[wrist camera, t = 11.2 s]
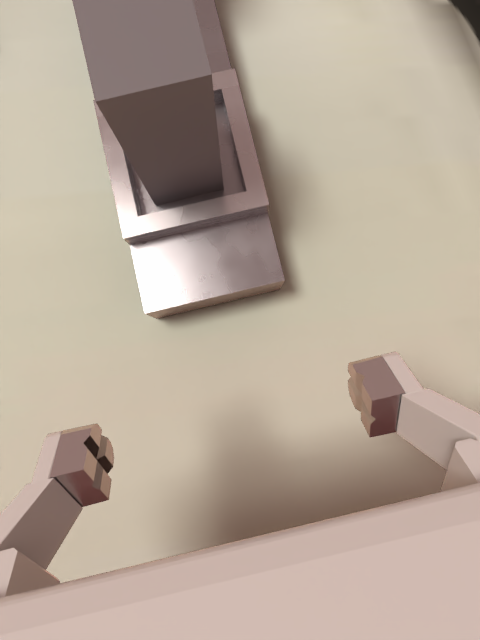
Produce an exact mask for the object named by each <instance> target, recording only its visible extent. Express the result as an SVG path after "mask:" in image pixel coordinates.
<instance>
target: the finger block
mask: <svg viewBox="0 0 480 640" xmlns="http://www.w3.org/2000/svg"><path fill="white" fill-rule="evenodd" d="M72 1H73V5H74V9H75V14H76V18H77V23H78V27H79V31H80V36H81V40H82V45H83V49H84V54H85V58H86V62H87V67H88V71H89V76H90V80H91V85H92V89H93V93H94V98H95V102H96V104H97V105H98V107H99V109H100V111H101V112H102V114H103V116H104V117H105V119H106V121H107V123H108V124H109V126H110V128H111V130H112V131H113V133H114V135H115V137H116V138H117V140H118V142H119V143H120V145H121V147H122V149H123V150H124V152H125V154H126V156H127V157H128V159H129V161H130V163H131V164H132V166H133V168H134V169H135V171H136V173H137V175H138V176H139V178H140V180H141V182H142V183H143V185H144V187H145V188H146V190H147V192H148V194H149V195H150V197H151V199H152V201H153V202H154V204H155V206H156V205H160V204H164V203H169V202H173V201H177V200H181V199H185V198H189V197H194V196H198V195H202V194H206V193H210V192H214V191H219V190H223V189H224V186H223V177H222V167H221V158H220V148H219V139H218V129H217V120H216V110H215V101H214V91H213V81H212V73H211V70H210V66H209V62H208V58H207V54H206V50H205V46H204V42H203V38H202V34H201V31H200V27H199V23H198V19H197V15H196V11H195V7H194V3H193V0H72Z"/></svg>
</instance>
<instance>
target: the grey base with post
mask: <svg viewBox="0 0 480 640" xmlns="http://www.w3.org/2000/svg"><path fill="white" fill-rule="evenodd" d="M193 3H194V7H195V11H196V15H197V19H198V23H199V27H200V31H201V34H202V38H203V42H204V46H205V50H206V54H207V58H208V62H209V66H210V70H211V73H212V81H213V91H214V101H215V110H216V120H217V129H218V139H219V148H220V158H221V167H222V177H223V186H224V189H223V190H219V191H214V192H210V193H206V194H202V195H198V196H194V197H189V198H185V199H181V200H177V201H173V202H169V203H164V204H160V205H156V206H155V204H154V202H153V201H152V199H151V197H150V195H149V194H148V192H147V190H146V188H145V187H144V185H143V183H142V182H141V180H140V178H139V176H138V175H137V173H136V171H135V169H134V168H133V166H132V164H131V163H130V161H129V159H128V157H127V156H126V154H125V152H124V150H123V149H122V147H121V145H120V143H119V142H118V140H117V138H116V137H115V135H114V133H113V131H112V130H111V128H110V126H109V124H108V123H107V121H106V119H105V117H104V116H103V114H102V112H101V111H100V109H99V107H98V105H97V104H96V102H95V100H93V101H94V106H95V110H96V115H97V119H98V124H99V129H100V133H101V138H102V143H103V147H104V152H105V156H106V161H107V166H108V170H109V175H110V180H111V184H112V189H113V193H114V198H115V203H116V207H117V212H118V216H119V221H120V226H121V230H122V235H123V239H124V240H125V241H126V242H127V243H128V244H129V245H130V248H131V253H132V257H133V262H134V267H135V271H136V276H137V280H138V285H139V289H140V294H141V299H142V303H143V308H144V312H145V314H147V315H149V316H152V317H154V318H156V319H157V318H161V317H165V316H170V315H174V314H178V313H182V312H186V311H191V310H195V309H199V308H203V307H208V306H212V305H216V304H220V303H224V302H229V301H233V300H237V299H241V298H246V297H250V296H254V295H258V294H262V293H267V292H271V291H275V290H279V289H280V288H281V286H282V284H283V283H284V281H285V279H284V275H283V271H282V267H281V263H280V259H279V255H278V251H277V247H276V243H275V239H274V235H273V231H272V227H271V223H270V220H269V216H268V209H269V201H268V197H267V193H266V189H265V185H264V181H263V177H262V174H261V170H260V166H259V162H258V158H257V154H256V150H255V146H254V142H253V138H252V134H251V130H250V126H249V122H248V118H247V114H246V110H245V106H244V102H243V99H242V95H241V91H240V87H239V83H238V79H237V75H236V71H235V68H234V69H231V65H230V61H229V57H228V53H227V49H226V45H225V41H224V37H223V33H222V29H221V25H220V21H219V18H218V14H217V10H216V6H215V2H214V0H193Z"/></svg>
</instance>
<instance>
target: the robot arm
mask: <svg viewBox="0 0 480 640" xmlns="http://www.w3.org/2000/svg"><path fill="white" fill-rule="evenodd" d="M348 372H349V374H350V376H351V377H350V379H349V380H348V389H349V394H350V397H351V400H352V402H353V405H354V407H355V409H357V410H359V411H360V412H361V421H362V423H363V425H364V427H365V429H366V431H367V433H368V435H369V437H374V436H379V435H384V434H389V433H393V432H396V433H397V434H398V435H400V436H401V437H402V438H404V439H405V440H406V441H408V442H409V443H410V444H412V445H413V446H414V447H416V448H417V449H418V450H420V451H421V452H423V453H424V454H425V455H427V456H428V457H429V458H431V459H432V460H433V461H435V462H436V463H437V464H439V465H440V466H441V467H443V468H444V469H446V470H447V472H446V475H445V478H444V481H443V484H442V488H441V491H442V492H438V493H434V494H430V495H426V496H422V497H417V498H413V499H409V500H405V501H401V502H397V503H392V504H388V505H384V506H380V507H376V508H372V509H367V510H363V511H359V512H355V513H351V514H347V515H342V516H338V517H334V518H330V519H326V520H322V521H317V522H313V523H309V524H305V525H301V526H297V527H292V528H288V529H284V530H280V531H276V532H272V533H268V534H263V535H259V536H255V537H251V538H247V539H243V540H238V541H234V542H230V543H226V544H222V545H218V546H213V547H209V548H205V549H201V550H197V551H193V552H189V553H184V554H180V555H176V556H172V557H168V558H164V559H160V560H155V561H151V562H147V563H143V564H139V565H135V566H131V567H126V568H122V569H118V570H114V571H110V572H106V573H102V574H97V575H93V576H89V577H85V578H81V579H77V580H72V581H68V582H64V583H60V581H59V580H58V578H56V577H55V576H54V575H52V574H51V573H49V572H48V571H46V569H47V567H48V565H49V564H50V562H51V560H52V559H53V557H54V555H55V554H56V552H57V550H58V549H59V547H60V545H61V544H62V542H63V540H64V539H65V537H66V535H67V534H68V532H69V530H70V529H71V527H72V526H73V524H74V522H75V521H76V519H77V517H78V516H79V514H80V512H81V511H82V509H83V508H82V507H84V506H88V505H92V504H95V503H99V502H103V501H106V500H109V495H110V488H111V478H110V477H109V476H108V473H109V471H110V470H111V469H112V467H113V463H114V453H113V447H112V445H111V442H110V441H109V439H108V438H107V437H105V436H102V435H101V433H102V429H101V428H100V426H99V425H98V424H91V425H87V426H82V427H77V428H72V429H68V430H64V431H59V432H55V433H50V434H48V435H47V436H46V437H45V439H44V442H43V445H42V448H41V452H40V455H39V458H38V462H37V465H36V468H35V472H34V475H33V478H32V482H31V483H29V484H26V485H25V486H24V488H23V489H22V490H21V491H20V492H19V493H18V494H17V496H16V497H15V498H14V499H13V500H12V501H11V503H10V504H9V505H8V506H7V507H6V508H5V509H4V511H3V512H2V513H1V514H0V640H480V414H479V413H477V412H475V411H473V410H471V409H469V408H467V407H465V406H463V405H461V404H459V403H457V402H455V401H453V400H451V399H449V398H447V397H445V396H443V395H441V394H439V393H437V392H435V391H433V390H431V389H429V388H427V389H424V388H423V387H422V386H421V384H420V383H419V381H418V380H417V379H416V377H415V376H414V374H413V373H412V372H411V370H410V369H409V367H408V366H407V364H406V363H405V362H404V360H403V359H402V357H401V356H400V355H399V353H397V352H396V351H395V352H391V353H387V354H383V355H380V356H379V355H378V356H374V357H370V358H366V359H362V360H358V361H354V362H350V363H349V364H348Z"/></svg>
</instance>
